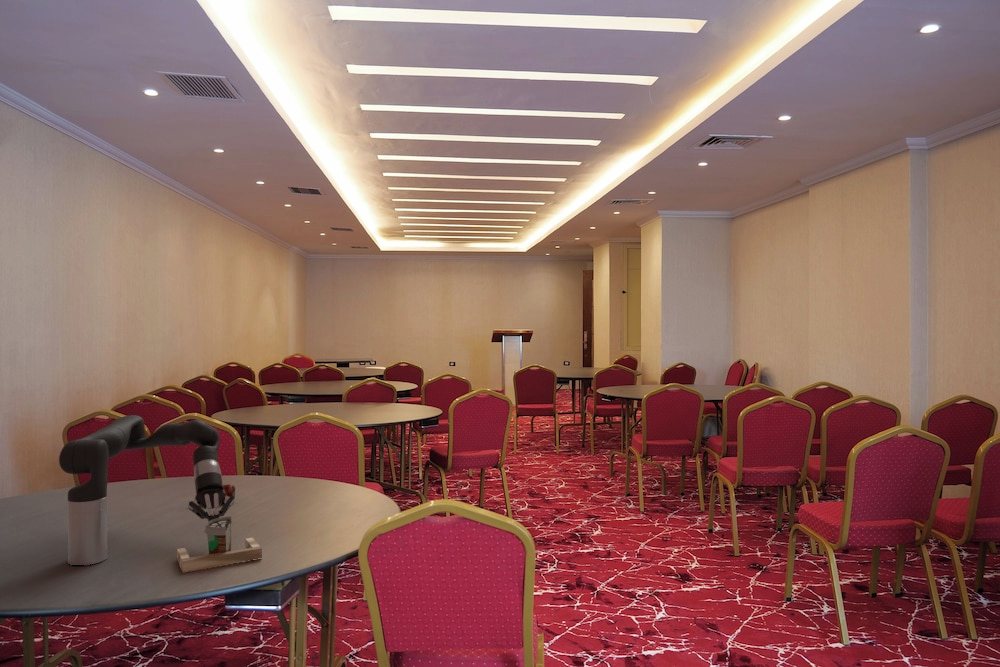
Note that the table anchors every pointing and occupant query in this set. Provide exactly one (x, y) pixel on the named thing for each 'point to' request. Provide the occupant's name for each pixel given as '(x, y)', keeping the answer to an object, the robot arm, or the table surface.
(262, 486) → the table surface
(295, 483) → the table surface
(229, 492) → the beverage can
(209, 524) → the food container
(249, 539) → the wooden bridge piece
